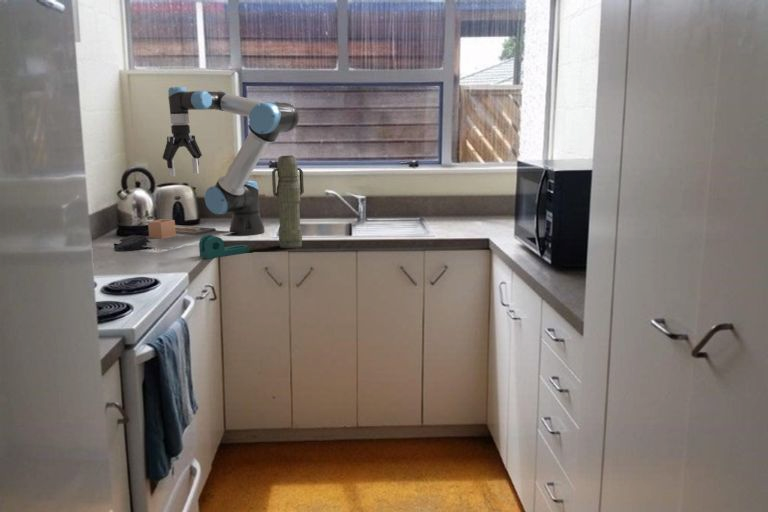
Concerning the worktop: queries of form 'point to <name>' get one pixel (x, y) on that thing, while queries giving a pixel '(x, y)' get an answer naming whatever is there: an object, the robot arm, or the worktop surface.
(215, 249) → the bracket
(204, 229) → the charcoal tray
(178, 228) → the beech stick
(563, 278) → the worktop surface
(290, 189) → the thermos
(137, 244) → the dark slate chunk
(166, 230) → the orange open cube box
